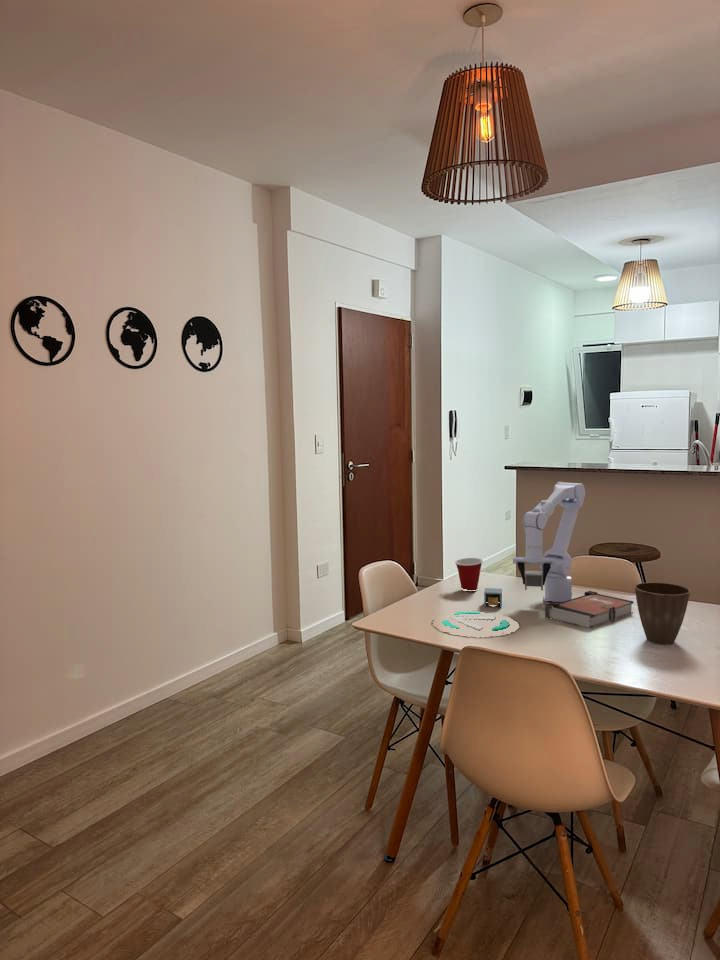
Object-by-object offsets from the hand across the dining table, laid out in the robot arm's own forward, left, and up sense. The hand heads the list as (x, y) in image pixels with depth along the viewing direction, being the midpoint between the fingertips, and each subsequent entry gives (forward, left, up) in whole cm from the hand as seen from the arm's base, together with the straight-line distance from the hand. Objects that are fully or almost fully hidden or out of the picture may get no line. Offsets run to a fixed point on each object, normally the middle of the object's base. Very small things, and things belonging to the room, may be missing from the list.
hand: (533, 584), depth 238 cm
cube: (+14, 0, -8) cm, 16 cm away
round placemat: (+19, +23, -9) cm, 31 cm away
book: (-18, +7, -9) cm, 22 cm away
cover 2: (0, 0, -1) cm, 1 cm away
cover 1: (+14, 0, -8) cm, 16 cm away
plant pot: (-36, +30, -9) cm, 48 cm away
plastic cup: (+24, -20, -9) cm, 32 cm away
